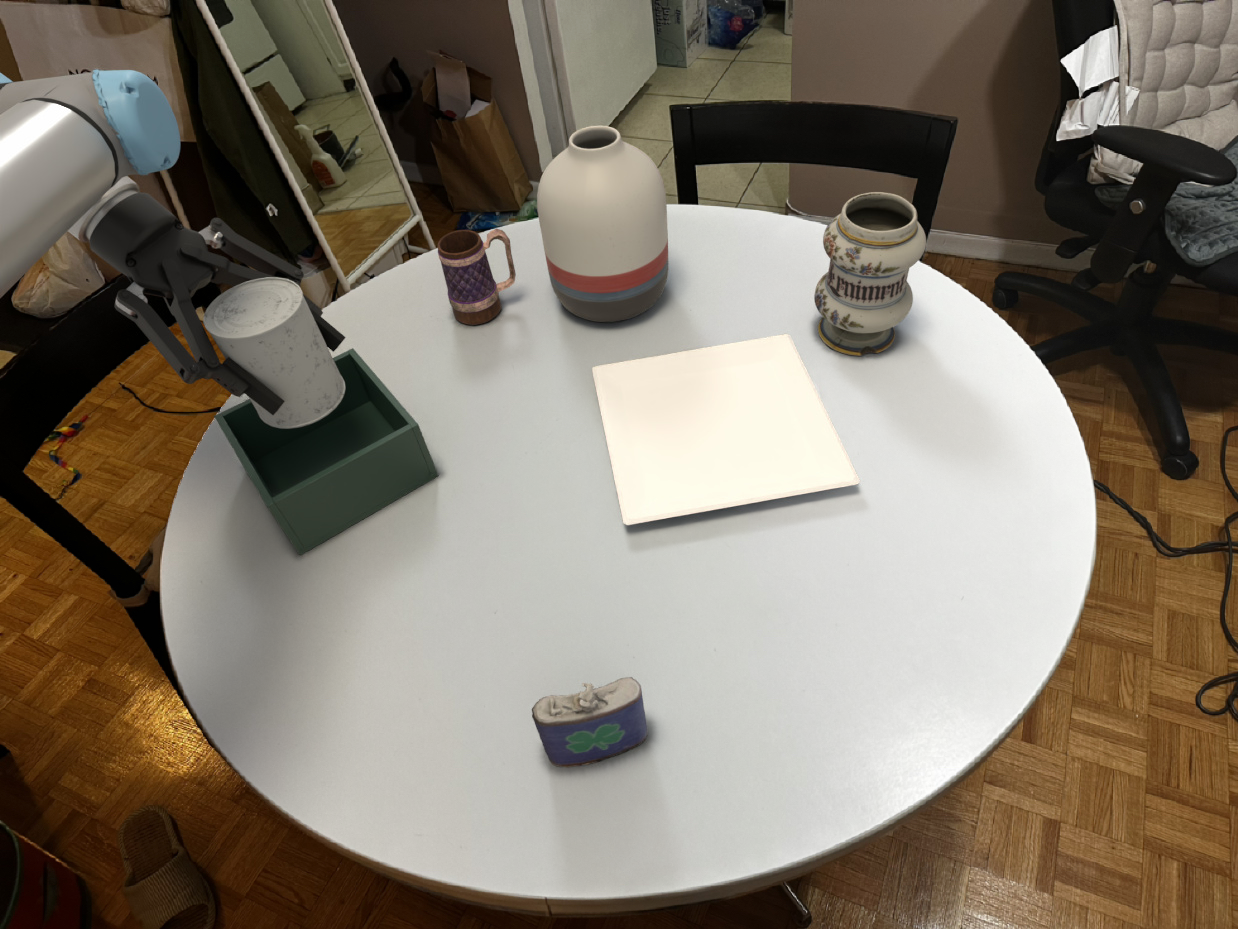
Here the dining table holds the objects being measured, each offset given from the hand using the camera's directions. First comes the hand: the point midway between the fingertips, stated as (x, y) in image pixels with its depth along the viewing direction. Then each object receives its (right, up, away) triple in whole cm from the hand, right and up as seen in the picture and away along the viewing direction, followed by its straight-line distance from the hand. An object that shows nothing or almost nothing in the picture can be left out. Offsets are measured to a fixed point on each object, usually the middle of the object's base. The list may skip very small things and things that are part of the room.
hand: (310, 375), depth 81 cm
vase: (+31, +15, +32) cm, 47 cm away
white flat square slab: (+44, -5, +13) cm, 46 cm away
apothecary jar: (+64, +8, +22) cm, 68 cm away
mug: (+13, +13, +33) cm, 37 cm away
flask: (+30, -35, -11) cm, 47 cm away
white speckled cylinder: (-3, -2, +4) cm, 5 cm away
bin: (-2, -10, +13) cm, 17 cm away
